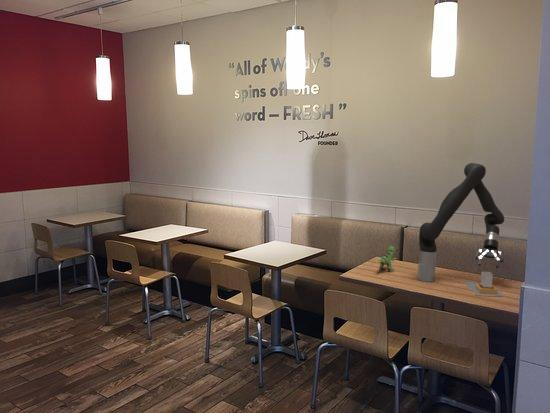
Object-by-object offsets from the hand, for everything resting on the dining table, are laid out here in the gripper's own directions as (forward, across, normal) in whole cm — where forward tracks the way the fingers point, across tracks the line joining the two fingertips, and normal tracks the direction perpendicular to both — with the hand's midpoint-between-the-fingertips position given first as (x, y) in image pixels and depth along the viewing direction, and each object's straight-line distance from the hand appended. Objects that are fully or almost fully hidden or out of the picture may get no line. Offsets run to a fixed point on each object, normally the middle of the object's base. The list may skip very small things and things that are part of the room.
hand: (488, 266), depth 270 cm
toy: (+4, -57, +15) cm, 59 cm away
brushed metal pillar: (+14, 0, +3) cm, 14 cm away
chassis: (+11, -2, +6) cm, 13 cm away
